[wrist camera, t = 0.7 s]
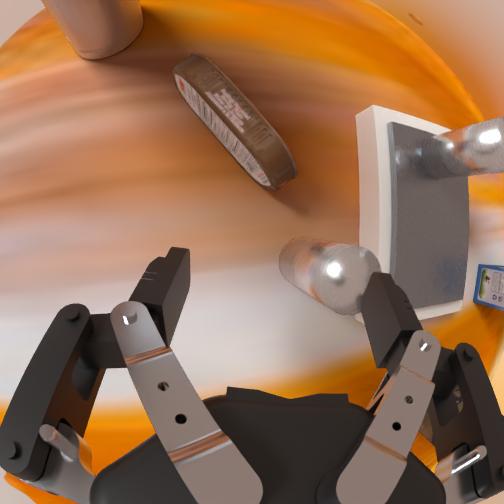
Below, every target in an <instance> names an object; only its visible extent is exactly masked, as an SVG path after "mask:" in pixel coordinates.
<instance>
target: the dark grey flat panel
mask: <svg viewBox="0 0 504 504" xmlns="http://www.w3.org/2000/svg"><path fill="white" fill-rule="evenodd" d="M387 131H388V142H389V154H390V171H391V206H392V219H391V254H390V271H389V274H391V276H392V278H393V280H394V282H395V284H396V285H398V286H399V287H400V288H401V289H402V290H403V291H404V292H405V293H406V295H407V297H408V299H409V301H410V302H409V303H411V305H412V307H413V309H417V308H423V307H428V306H433V305H439V304H444V303H449V302H453V301H458V300H463V295H464V287H465V279H466V269H467V257H468V238H469V194H468V176H464V177H456V178H448V179H440V180H439V179H435V178H433V177H432V176H431V175H430V174H429V173H428V172H427V170H426V168H425V166H424V164H423V160H422V155H421V149H422V144H423V142H424V140H425V139H427V138H429V137H432V136H435V135H436V134H433V133H430V132H427V131H424V130H420V129H417V128H414V127H410V126H407V125H404V124H400V123H396V122H393V121H392V122H389V123H387Z"/></svg>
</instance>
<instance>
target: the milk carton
mask: <svg viewBox="0 0 504 504" xmlns="http://www.w3.org/2000/svg"><path fill="white" fill-rule="evenodd" d="M473 302H476V303H480V304H483V305H486V306H489V307H492V308H495V309H499V310H502V311H504V266H497V265H482V264H479V266H478V273H477V280H476V287H475V293H474V298H473Z"/></svg>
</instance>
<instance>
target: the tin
mask: <svg viewBox="0 0 504 504" xmlns="http://www.w3.org/2000/svg"><path fill="white" fill-rule="evenodd" d="M172 73H173V77H174V80H175V85H176V87H177V89H178V91H179V92H180V94H181V95H182V97H183V98H184V100H185V101H186V102H187V104H188V105H189V106H190V108H191V109H192V110H193V111H194V112H195V114H196V115H197V116H198V117H199V118H200V119H201V120H202V122H203V123H204V124H205V125H206V126H207V128H208V129H209V130H210V131H211V132H212V134H213V135H214V136H215V137H216V138H217V139H218V141H219V142H220V143H221V144H222V145H223V146H224V148H225V149H226V150H227V151H228V152H229V153H230V155H231V156H232V157H233V158H234V159H235V160H236V161H237V163H238V164H239V165H240V166H241V167H242V168H243V169H244V171H245V172H246V173H247V174H248V175H249V176H250V177H251V178H252V179H253V180H254V181H255V182H256V183H258V184H259V185H260V186H261V187H263V188H264V189H266V190H270V191H277V190H278V189H280V188H281V187H282V186H284V185H285V184H286V183H287V182H288V181H290V180H291V179H294V178H295V177H296V176H297V167H296V163H295V160H294V158H293V156H292V154H291V152H290V150H289V149H288V147H287V145H286V144H285V142H284V141H283V139H282V138H281V137H280V135H279V134H278V133H277V132H276V130H275V129H274V128H273V127H272V126H271V124H270V123H269V122H268V121H267V120H266V119H265V117H264V116H263V115H262V114H261V113H260V112H259V110H258V109H257V108H256V107H255V106H254V105H253V104H252V103H251V102H250V100H249V99H248V98H247V97H246V96H245V95H244V94H243V93H242V92H241V90H240V89H239V88H238V87H237V86H236V85H235V84H234V83H233V82H232V81H231V80H230V79H229V78H228V77H227V76H226V75H225V73H224V72H223V71H222V70H221V69H220V68H219V67H218V66H217V65H216V64H215V63H214V62H212V61H211V60H210V59H208V58H207V57H206V56H204V55H202V54H199V53H192V54H191V55H190V56H189V57H188V58H186V59H185V60H183V61H182V62H180V63H179V64H177V65H176V66H175V67H174V68H173V69H172Z"/></svg>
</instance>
